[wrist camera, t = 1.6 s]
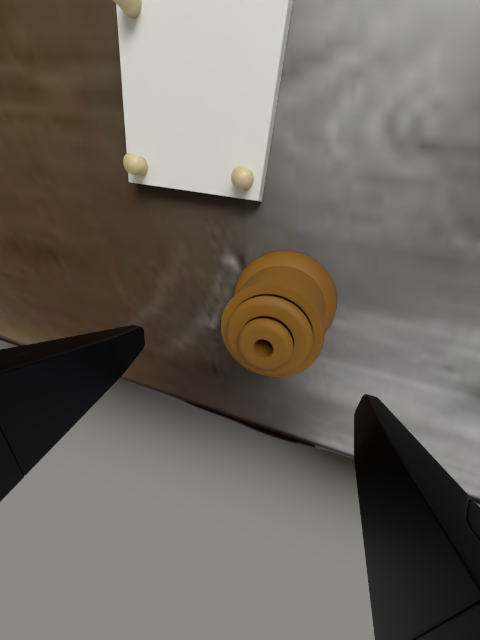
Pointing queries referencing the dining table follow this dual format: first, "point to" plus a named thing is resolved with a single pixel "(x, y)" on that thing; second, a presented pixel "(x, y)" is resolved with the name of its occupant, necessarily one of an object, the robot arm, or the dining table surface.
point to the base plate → (201, 91)
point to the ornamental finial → (279, 314)
